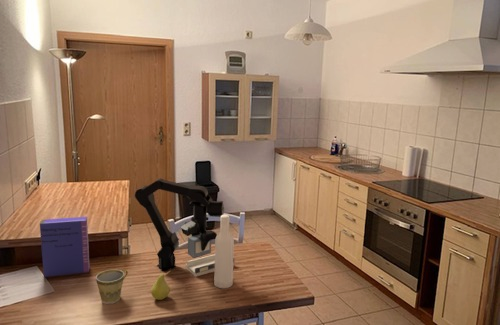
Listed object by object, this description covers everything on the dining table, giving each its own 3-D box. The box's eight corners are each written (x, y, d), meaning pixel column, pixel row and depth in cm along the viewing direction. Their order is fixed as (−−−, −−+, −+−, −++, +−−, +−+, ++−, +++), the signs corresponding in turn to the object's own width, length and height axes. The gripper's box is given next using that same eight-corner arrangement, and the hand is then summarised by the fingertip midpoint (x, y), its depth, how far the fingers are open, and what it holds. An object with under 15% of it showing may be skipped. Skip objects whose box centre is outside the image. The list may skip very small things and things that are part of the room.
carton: (187, 254, 166) (187, 237, 165) (204, 249, 172) (205, 232, 170) (193, 258, 162) (194, 241, 161) (211, 253, 168) (211, 236, 167)
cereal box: (89, 267, 167) (87, 216, 163) (88, 272, 163) (85, 219, 158) (46, 272, 162) (42, 219, 157) (43, 277, 157) (39, 223, 153)
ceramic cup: (108, 310, 136) (107, 284, 134) (91, 301, 141) (90, 276, 139) (136, 294, 147) (135, 270, 145) (119, 286, 152) (118, 263, 150)
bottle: (236, 281, 159) (238, 214, 153) (227, 290, 152) (229, 220, 146) (219, 277, 162) (221, 211, 156) (210, 285, 155) (211, 217, 149)
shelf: (195, 276, 162) (195, 269, 161) (185, 267, 170) (185, 260, 169) (234, 265, 174) (234, 258, 173) (222, 257, 182) (222, 250, 181)
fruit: (154, 293, 148) (154, 265, 146) (173, 294, 148) (173, 266, 146) (149, 302, 142) (148, 273, 139) (169, 303, 141) (168, 274, 139)
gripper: (173, 212, 166) (173, 245, 169) (195, 225, 152) (194, 261, 155) (195, 208, 173) (194, 240, 176) (217, 220, 159) (217, 254, 162)
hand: (199, 248), depth 167 cm, fingers closed on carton, 5 cm apart
